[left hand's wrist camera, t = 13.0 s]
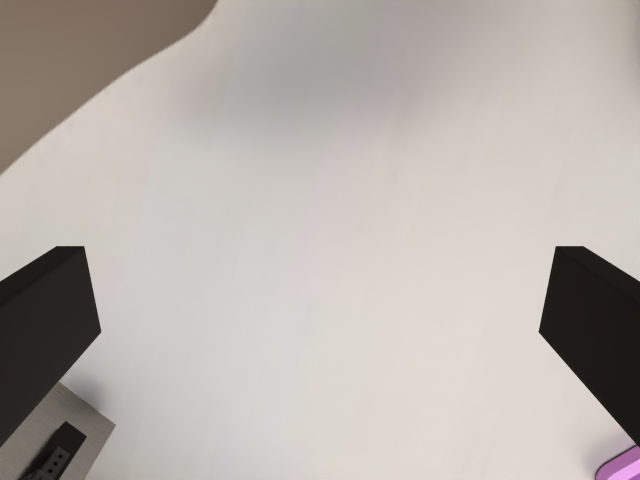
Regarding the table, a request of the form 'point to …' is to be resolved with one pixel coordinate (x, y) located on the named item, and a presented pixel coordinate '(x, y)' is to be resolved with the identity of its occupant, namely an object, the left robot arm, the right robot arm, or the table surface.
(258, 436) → the table surface
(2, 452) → the box
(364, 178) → the table surface
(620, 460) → the bracket
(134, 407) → the table surface
